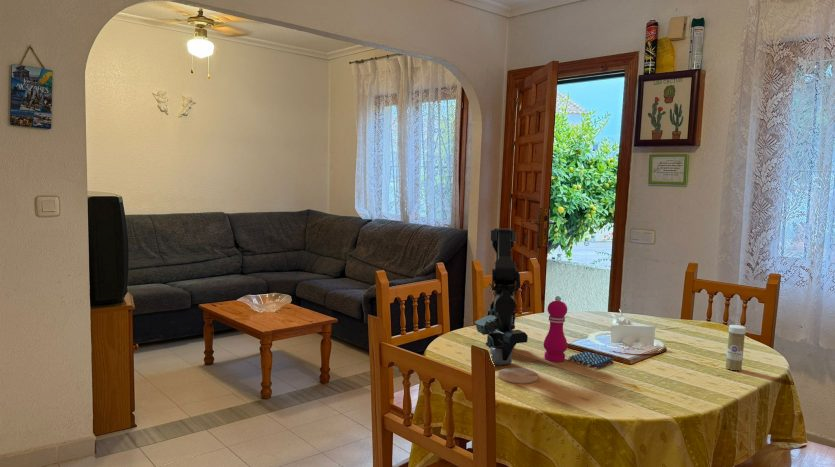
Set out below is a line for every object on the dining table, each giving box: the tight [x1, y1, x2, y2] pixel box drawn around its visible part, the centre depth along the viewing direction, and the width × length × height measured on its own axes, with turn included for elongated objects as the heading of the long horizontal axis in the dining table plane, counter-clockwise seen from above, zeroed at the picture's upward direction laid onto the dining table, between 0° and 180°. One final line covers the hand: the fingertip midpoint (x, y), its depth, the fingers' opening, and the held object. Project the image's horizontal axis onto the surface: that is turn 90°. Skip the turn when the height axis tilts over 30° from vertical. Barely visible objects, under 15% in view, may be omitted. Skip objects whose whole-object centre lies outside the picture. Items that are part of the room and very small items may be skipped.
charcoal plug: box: [489, 345, 513, 366], centre depth 178 cm, size 9×4×4 cm, turn 114°
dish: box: [587, 308, 665, 351], centre depth 204 cm, size 25×25×11 cm
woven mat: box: [567, 350, 614, 370], centre depth 184 cm, size 10×11×2 cm
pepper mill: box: [543, 295, 568, 363], centre depth 185 cm, size 7×7×20 cm
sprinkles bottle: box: [725, 324, 747, 371], centre depth 180 cm, size 5×5×14 cm
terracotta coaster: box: [498, 367, 539, 385], centre depth 169 cm, size 11×11×1 cm
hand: (500, 358), depth 179 cm, fingers closed on charcoal plug, 4 cm apart
